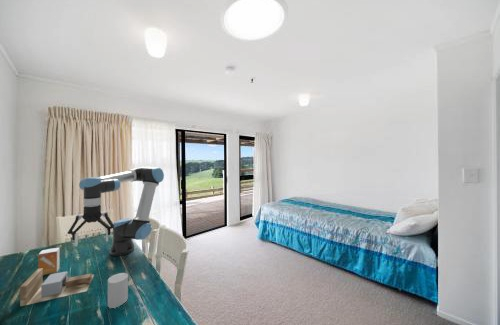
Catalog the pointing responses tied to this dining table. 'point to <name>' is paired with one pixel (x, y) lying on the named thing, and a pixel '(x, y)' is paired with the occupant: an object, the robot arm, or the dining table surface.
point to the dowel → (78, 280)
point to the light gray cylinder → (117, 290)
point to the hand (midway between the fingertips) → (92, 243)
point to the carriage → (54, 284)
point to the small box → (49, 260)
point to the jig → (32, 289)
